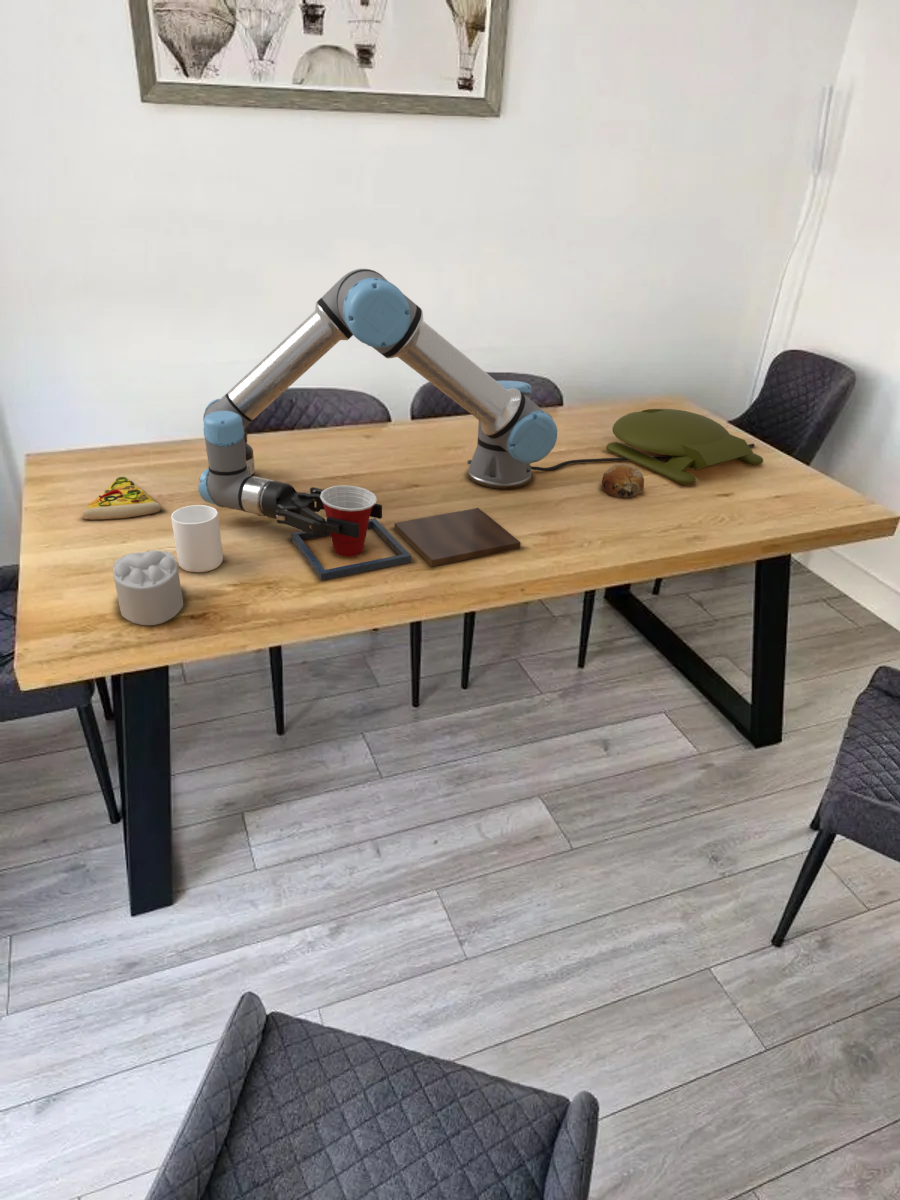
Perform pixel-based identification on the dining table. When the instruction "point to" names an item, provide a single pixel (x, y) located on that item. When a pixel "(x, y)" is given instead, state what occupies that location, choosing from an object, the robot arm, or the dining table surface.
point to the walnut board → (456, 536)
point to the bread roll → (622, 481)
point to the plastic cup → (348, 515)
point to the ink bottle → (249, 456)
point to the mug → (197, 538)
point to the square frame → (358, 567)
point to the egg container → (148, 587)
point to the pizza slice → (121, 502)
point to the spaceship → (677, 442)
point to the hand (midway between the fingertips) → (369, 521)
